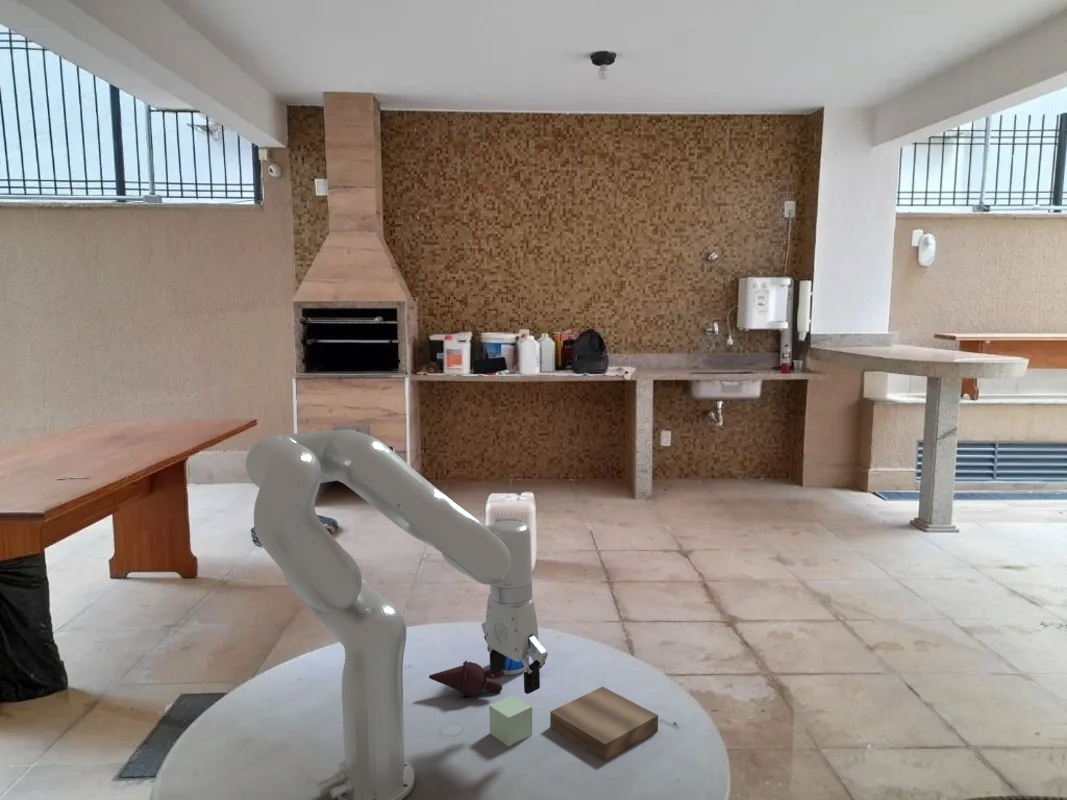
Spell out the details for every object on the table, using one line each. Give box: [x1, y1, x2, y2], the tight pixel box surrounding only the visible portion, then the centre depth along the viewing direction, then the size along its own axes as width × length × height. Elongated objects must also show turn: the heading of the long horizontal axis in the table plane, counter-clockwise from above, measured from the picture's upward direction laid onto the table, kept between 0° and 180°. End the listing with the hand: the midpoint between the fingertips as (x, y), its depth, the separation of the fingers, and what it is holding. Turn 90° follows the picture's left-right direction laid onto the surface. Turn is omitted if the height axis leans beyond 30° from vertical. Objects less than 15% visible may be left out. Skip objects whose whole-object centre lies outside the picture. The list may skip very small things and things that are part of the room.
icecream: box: [428, 660, 505, 698], centre depth 148 cm, size 7×7×15 cm
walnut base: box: [549, 686, 659, 762], centre depth 135 cm, size 14×14×3 cm
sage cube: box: [489, 694, 533, 747], centre depth 134 cm, size 6×6×6 cm
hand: (514, 680), depth 133 cm, fingers open, 9 cm apart
